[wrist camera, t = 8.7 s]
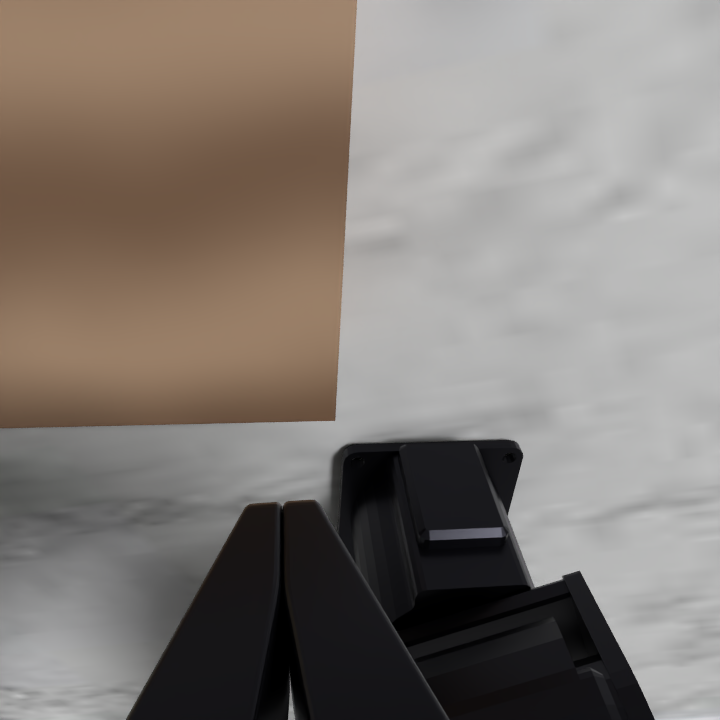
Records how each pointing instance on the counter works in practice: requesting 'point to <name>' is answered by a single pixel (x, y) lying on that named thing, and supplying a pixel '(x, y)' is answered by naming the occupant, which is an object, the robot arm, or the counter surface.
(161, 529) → the counter surface
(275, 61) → the brown box
